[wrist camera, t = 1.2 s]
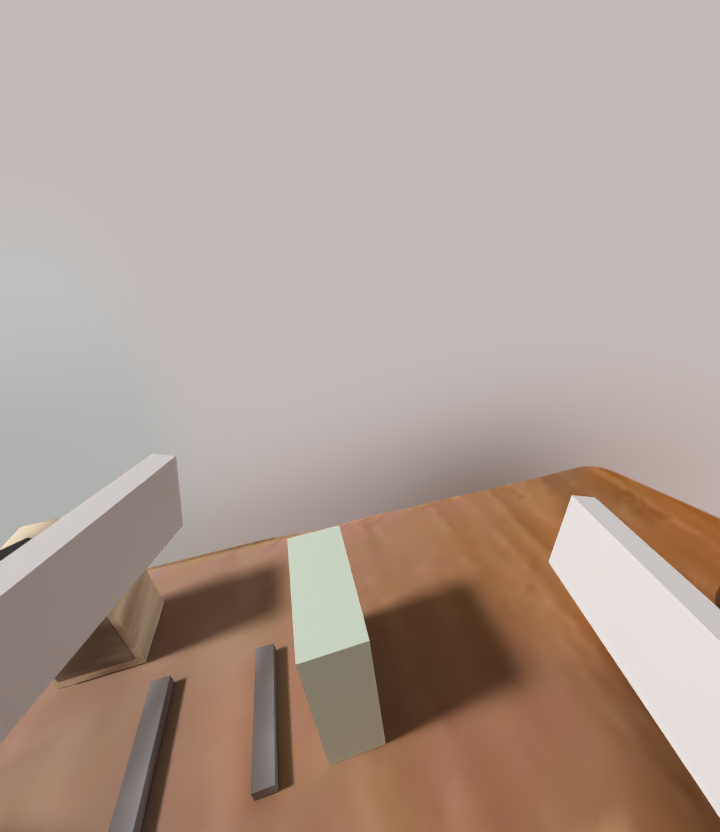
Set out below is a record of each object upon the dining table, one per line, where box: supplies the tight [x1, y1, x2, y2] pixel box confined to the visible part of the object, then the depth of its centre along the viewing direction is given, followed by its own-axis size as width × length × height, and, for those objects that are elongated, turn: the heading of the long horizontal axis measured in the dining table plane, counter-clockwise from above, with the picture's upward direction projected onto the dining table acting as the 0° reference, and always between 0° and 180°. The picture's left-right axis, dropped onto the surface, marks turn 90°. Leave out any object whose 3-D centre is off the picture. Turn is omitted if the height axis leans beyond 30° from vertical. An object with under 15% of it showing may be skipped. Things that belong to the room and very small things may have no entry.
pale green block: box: [287, 526, 386, 766], centre depth 24 cm, size 4×9×12 cm, turn 14°
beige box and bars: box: [0, 518, 278, 832], centre depth 25 cm, size 18×18×13 cm
